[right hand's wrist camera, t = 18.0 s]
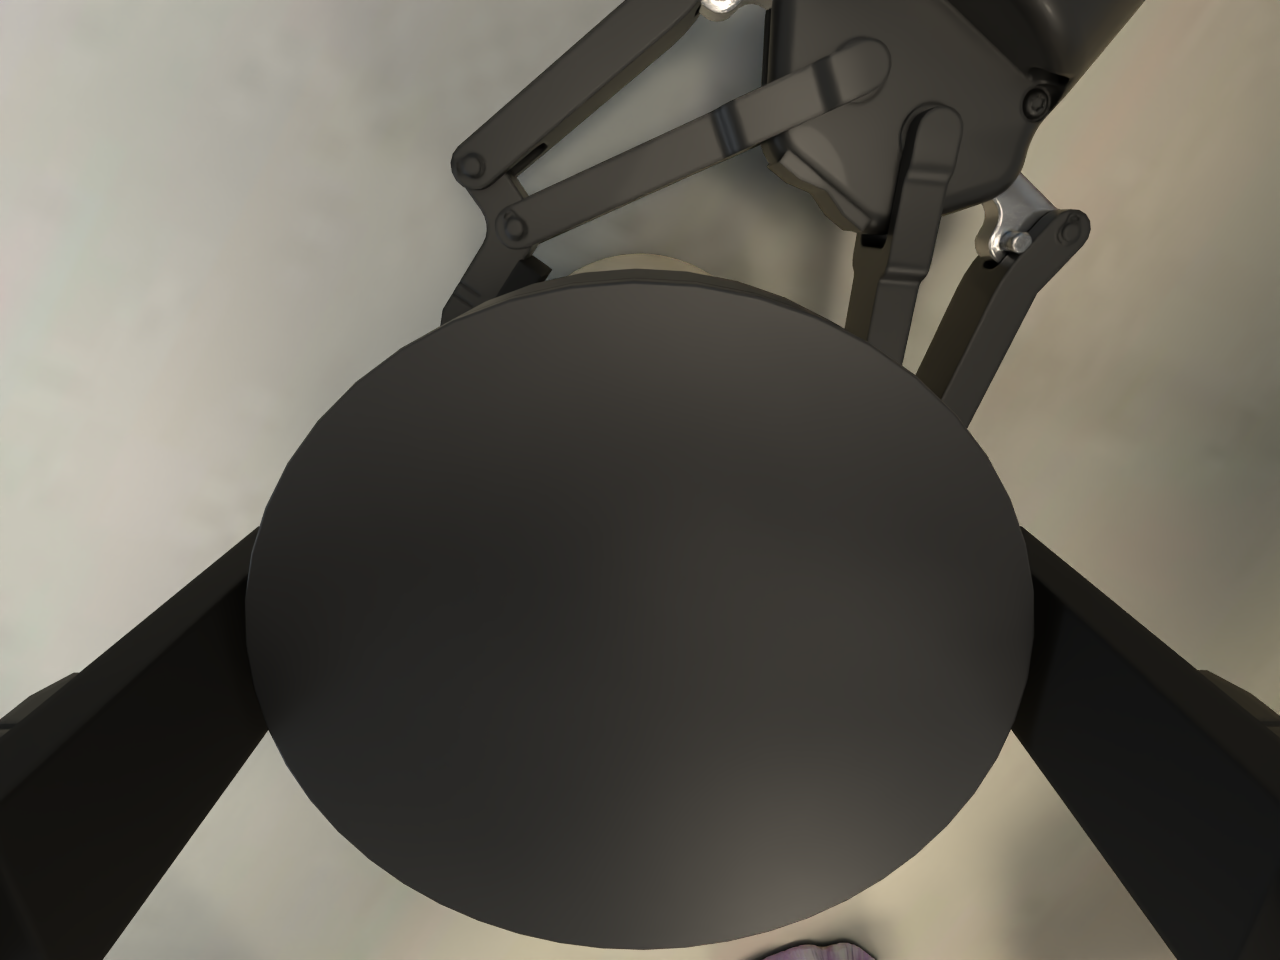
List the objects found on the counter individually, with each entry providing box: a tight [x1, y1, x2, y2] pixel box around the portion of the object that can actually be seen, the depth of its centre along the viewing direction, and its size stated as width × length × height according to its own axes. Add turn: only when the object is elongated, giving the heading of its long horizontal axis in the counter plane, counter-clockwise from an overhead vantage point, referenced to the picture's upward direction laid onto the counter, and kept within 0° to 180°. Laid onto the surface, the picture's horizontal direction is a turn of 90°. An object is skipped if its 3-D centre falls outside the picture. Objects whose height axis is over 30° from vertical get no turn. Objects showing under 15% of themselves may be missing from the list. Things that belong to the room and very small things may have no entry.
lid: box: [245, 268, 1034, 950], centre depth 11 cm, size 12×12×2 cm
